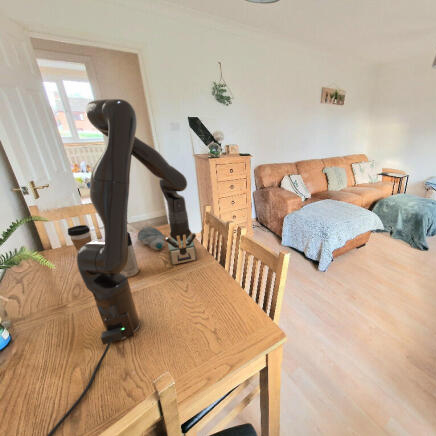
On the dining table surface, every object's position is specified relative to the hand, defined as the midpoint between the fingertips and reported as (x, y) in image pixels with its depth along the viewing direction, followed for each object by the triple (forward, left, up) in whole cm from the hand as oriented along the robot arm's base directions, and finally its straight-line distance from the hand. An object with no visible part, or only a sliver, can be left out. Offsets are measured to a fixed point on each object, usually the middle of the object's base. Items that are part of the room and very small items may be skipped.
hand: (183, 254), depth 110 cm
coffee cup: (+38, +44, -10) cm, 59 cm away
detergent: (+35, +13, -10) cm, 39 cm away
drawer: (+11, 0, -9) cm, 14 cm away
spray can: (+9, +23, -10) cm, 26 cm away
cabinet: (+15, 0, -10) cm, 18 cm away
